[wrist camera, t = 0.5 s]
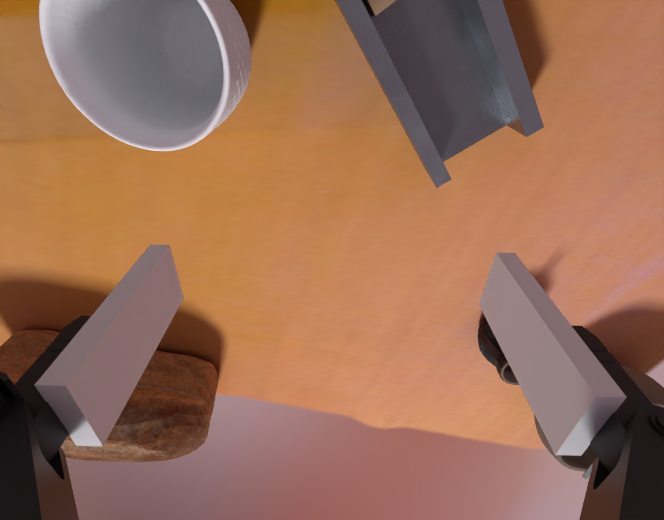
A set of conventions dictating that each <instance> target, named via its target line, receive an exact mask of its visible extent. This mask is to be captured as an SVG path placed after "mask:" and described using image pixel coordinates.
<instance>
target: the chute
mask: <svg viewBox="0 0 664 520" xmlns="http://www.w3.org/2000/svg"><path fill="white" fill-rule="evenodd" d="M335 1H336V3H337V5H338V7H339V9H340V11H341V12H342V14H343V16H344V18H345V20H346V22H347V24H348V25H349V27H350V29H351V31H352V33H353V35H354V37H355V39H356V40H357V42H358V44H359V46H360V48H361V50H362V52H363V53H364V55H365V57H366V59H367V61H368V63H369V65H370V67H371V68H372V70H373V72H374V74H375V76H376V78H377V80H378V82H379V83H380V85H381V87H382V89H383V91H384V93H385V95H386V96H387V98H388V100H389V102H390V104H391V106H392V108H393V110H394V111H395V113H396V115H397V117H398V119H399V121H400V123H401V124H402V126H403V128H404V130H405V132H406V134H407V136H408V138H409V139H410V141H411V143H412V145H413V147H414V149H415V151H416V152H417V154H418V156H419V158H420V160H421V162H422V164H423V166H424V167H425V169H426V171H427V173H428V174H429V176H430V178H431V179H432V181H433V182H434V184H435V186H436V187H439V186H440V185H442V184H444V183H446V182H447V181H449V180H451V177H450V175H449V173H448V171H447V169H446V167H445V165H444V163H443V162H444V161H445V160H447V159H449V158H451V157H452V156H454V155H456V154H457V153H459V152H461V151H463V150H464V149H466V148H468V147H469V146H471V145H473V144H475V143H476V142H478V141H480V140H481V139H483V138H485V137H487V136H488V135H490V134H492V133H493V132H495V131H497V130H499V129H500V128H502V127H504V126H505V125H507V126H509V127H511V128H512V129H514V130H516V131H517V132H519V133H521V134H522V135H524V136H526V137H527V136H529V135H531V134H533V133H534V132H536V131H538V130H540V129H541V128H543V127H544V126H543V123H542V120H541V117H540V114H539V111H538V108H537V104H536V101H535V98H534V95H533V92H532V89H531V86H530V83H529V80H528V77H527V74H526V71H525V68H524V65H523V62H522V59H521V55H520V52H519V49H518V46H517V43H516V40H515V37H514V34H513V31H512V28H511V25H510V22H509V19H508V16H507V13H506V10H505V6H504V3H503V0H396V1H395V2H393V3H392V4H391V5H390V6H388V7H387V8H386V9H384V10H383V11H382V12H380V13H379V14H378V15H377V16H372V17H371V16H370V14H369V12H368V10H367V8H366V6H365V4H364V2H363V0H335Z"/></svg>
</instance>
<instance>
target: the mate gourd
mask: <svg viewBox="0 0 664 520" xmlns="http://www.w3.org/2000/svg"><path fill="white" fill-rule="evenodd" d="M478 343H479V347H480V351H481V352H482V354H483V356H484V357H485V358H486V359H487V360H488V361H489V362H490V363H492V364H493V365H494V366H496V368H497V371H498V373H499V375H500V377H501V379H502V380H503V381H505V382H506V383H509V384H513V385H519V383H518V381H517V379H516V377H515V375H514V373H513V371H512V369H511V367H510V365H509V363H508V361H507V359H506V357H505V355H504V353H503V351H502V349H501V347H500V345H499V343H498V341H497V339H496V337H495V335H494V334H493V332H492V330H491V328H490V326H489V324H488V322H487V320H486V321H484V322H483V323H482V324H481V325H480V327H479V329H478Z"/></svg>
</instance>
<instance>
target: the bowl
mask: <svg viewBox="0 0 664 520" xmlns="http://www.w3.org/2000/svg"><path fill="white" fill-rule="evenodd" d="M620 366H621V367H622V368H623V369H624V370H625V372H626V373H627V374H628V375H629V376H630V378H631V379H632V380H633V381H634V382H635V384H636V385H637V386H638V387H639V389H640V390H641V391H642V392H643V393H644V395H645V396H646V397H647V398H648V399H649V401H650V402H651V403H652V404H653V405H658V406H661V407H663V408H664V388H663V387H662V386H661V385H660V384H659V383H657V382H656V381H655V380H654V379H652V378H651V377H649V376H648V375H646V374H644V373H642V372H640V371H638V370H636V369H633V368H630V367H627V366H624V365H620ZM534 418H535V424H536V428H537V431H538V434H539V436H540V438H541V440H542V442H543V444H544V445H545V446H546V448H547V449H548V450H549V452H550V453H551V454H552V455H553V456H554V457H555V458H556V459H557V460H558V461H559V462H560V463H561V464H562V465H564V466H566V467H567V468H570V469H572V470H577V471H584V472H585V471H586V470H587V469H588V468H589V466H590V465H591V464H592V463H593V462H594V460H595V459H596V458H597V457H598V456H597V454H596V452H595V451H594V449H593V447H592V446H591V444H590V445H589V446H588V448H587V449H586V450H585V451H584V453H583V454H582V455H581V456H575V455H555V454H554V452H553V450H552V448H551V446H550V444H549V442H548V440H547V438H546V436H545V434H544V432H543V430H542V428H541V426H540V424H539V422H538V420H537V418H536V416H535V414H534Z"/></svg>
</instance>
